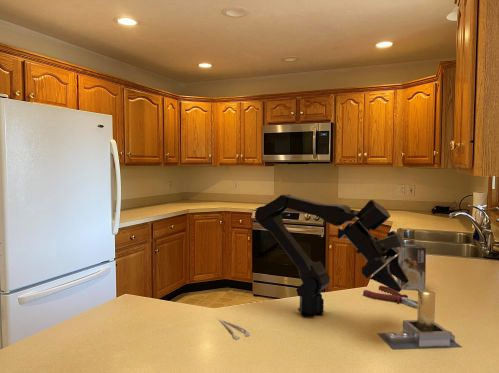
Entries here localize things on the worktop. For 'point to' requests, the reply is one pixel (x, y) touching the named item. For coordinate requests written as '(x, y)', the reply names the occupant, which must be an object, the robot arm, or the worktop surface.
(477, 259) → the worktop surface
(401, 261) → the coffee box
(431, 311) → the amber cylinder
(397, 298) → the pliers
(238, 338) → the tweezers
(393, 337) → the grey framed plate
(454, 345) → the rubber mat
